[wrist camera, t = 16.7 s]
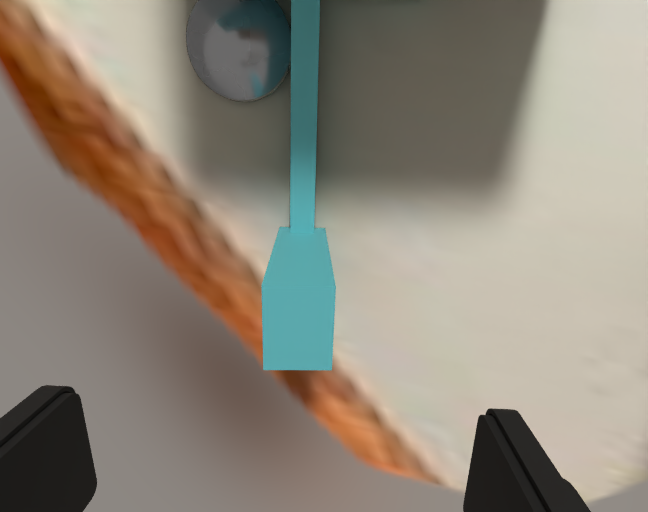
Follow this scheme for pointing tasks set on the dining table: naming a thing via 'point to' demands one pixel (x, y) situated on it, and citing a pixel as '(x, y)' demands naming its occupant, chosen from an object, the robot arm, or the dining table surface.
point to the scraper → (300, 227)
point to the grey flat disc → (239, 47)
